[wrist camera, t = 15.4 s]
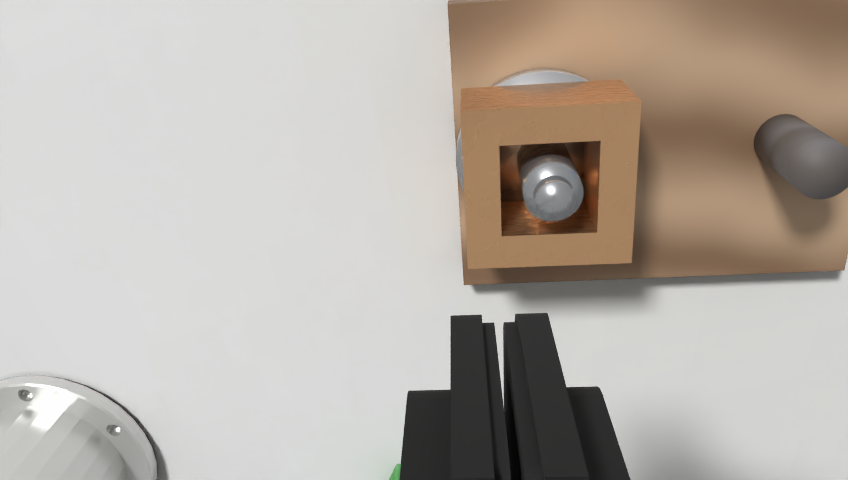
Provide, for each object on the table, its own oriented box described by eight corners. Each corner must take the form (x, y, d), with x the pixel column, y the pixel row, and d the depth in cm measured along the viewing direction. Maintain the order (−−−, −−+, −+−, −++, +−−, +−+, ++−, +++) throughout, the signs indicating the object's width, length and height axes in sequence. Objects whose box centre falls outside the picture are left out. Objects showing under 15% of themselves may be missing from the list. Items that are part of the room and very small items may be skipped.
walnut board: (830, 256, 36) (894, 317, 31) (464, 271, 38) (463, 331, 32) (884, -31, 30) (974, -20, 25) (448, 0, 32) (444, 18, 26)
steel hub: (622, 225, 34) (653, 286, 29) (460, 232, 35) (459, 293, 29) (630, 61, 31) (666, 94, 25) (451, 73, 32) (448, 107, 26)
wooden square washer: (613, 225, 33) (631, 263, 30) (467, 231, 34) (467, 269, 30) (620, 79, 31) (641, 101, 27) (461, 88, 31) (460, 111, 27)
